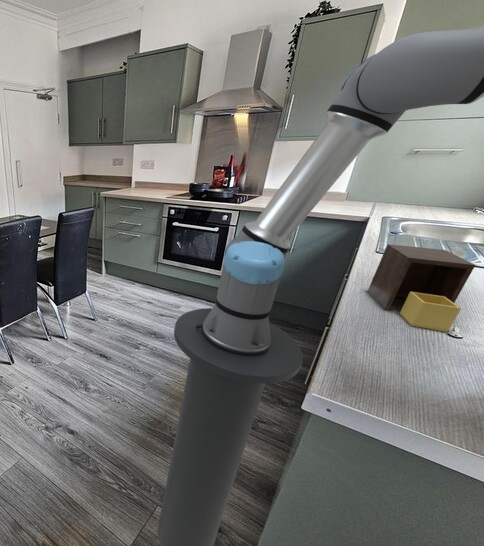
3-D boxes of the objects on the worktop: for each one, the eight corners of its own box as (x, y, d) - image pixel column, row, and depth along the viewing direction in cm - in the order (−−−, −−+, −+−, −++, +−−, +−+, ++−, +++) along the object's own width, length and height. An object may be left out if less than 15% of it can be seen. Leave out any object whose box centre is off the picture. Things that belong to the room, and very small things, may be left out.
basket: (447, 332, 79) (461, 308, 77) (411, 325, 82) (423, 302, 79) (432, 318, 85) (444, 296, 83) (399, 313, 88) (410, 291, 85)
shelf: (445, 319, 85) (475, 265, 79) (384, 309, 90) (408, 257, 84) (420, 299, 96) (445, 249, 90) (367, 291, 101) (387, 244, 94)
